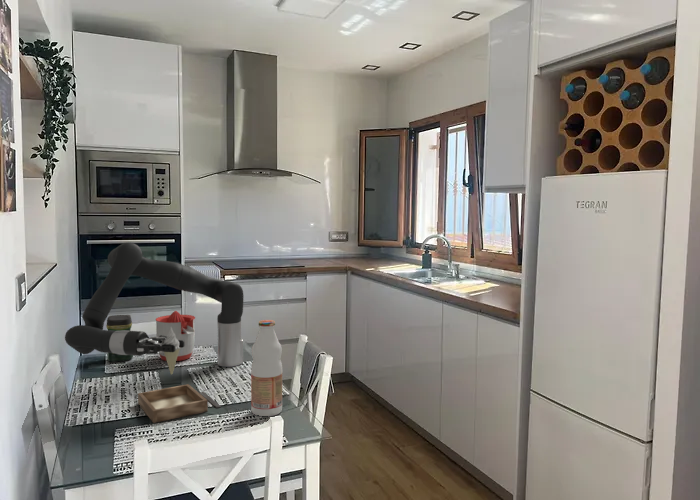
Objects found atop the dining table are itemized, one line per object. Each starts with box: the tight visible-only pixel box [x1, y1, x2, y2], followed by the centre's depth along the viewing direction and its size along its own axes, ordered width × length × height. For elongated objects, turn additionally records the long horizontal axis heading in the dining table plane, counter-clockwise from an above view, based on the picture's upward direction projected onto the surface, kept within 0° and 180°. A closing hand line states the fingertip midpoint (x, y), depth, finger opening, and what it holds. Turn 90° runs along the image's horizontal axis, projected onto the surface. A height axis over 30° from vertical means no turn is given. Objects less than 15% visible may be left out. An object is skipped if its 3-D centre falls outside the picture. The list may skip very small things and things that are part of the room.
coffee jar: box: [106, 314, 134, 363], centre depth 213 cm, size 10×8×19 cm
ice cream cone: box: [163, 327, 180, 375], centre depth 160 cm, size 5×5×15 cm
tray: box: [137, 383, 222, 424], centre depth 163 cm, size 21×18×4 cm
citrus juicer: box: [155, 310, 196, 362], centre depth 215 cm, size 16×17×20 cm
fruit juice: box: [250, 319, 283, 417], centre depth 158 cm, size 9×9×28 cm
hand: (179, 346), depth 160 cm, fingers closed on ice cream cone, 5 cm apart
